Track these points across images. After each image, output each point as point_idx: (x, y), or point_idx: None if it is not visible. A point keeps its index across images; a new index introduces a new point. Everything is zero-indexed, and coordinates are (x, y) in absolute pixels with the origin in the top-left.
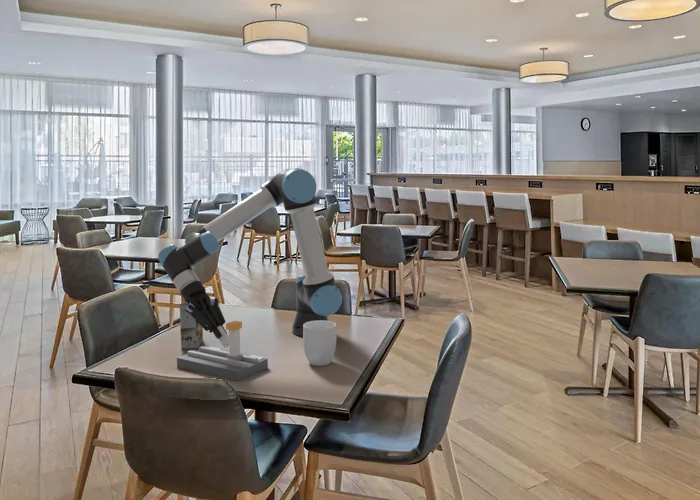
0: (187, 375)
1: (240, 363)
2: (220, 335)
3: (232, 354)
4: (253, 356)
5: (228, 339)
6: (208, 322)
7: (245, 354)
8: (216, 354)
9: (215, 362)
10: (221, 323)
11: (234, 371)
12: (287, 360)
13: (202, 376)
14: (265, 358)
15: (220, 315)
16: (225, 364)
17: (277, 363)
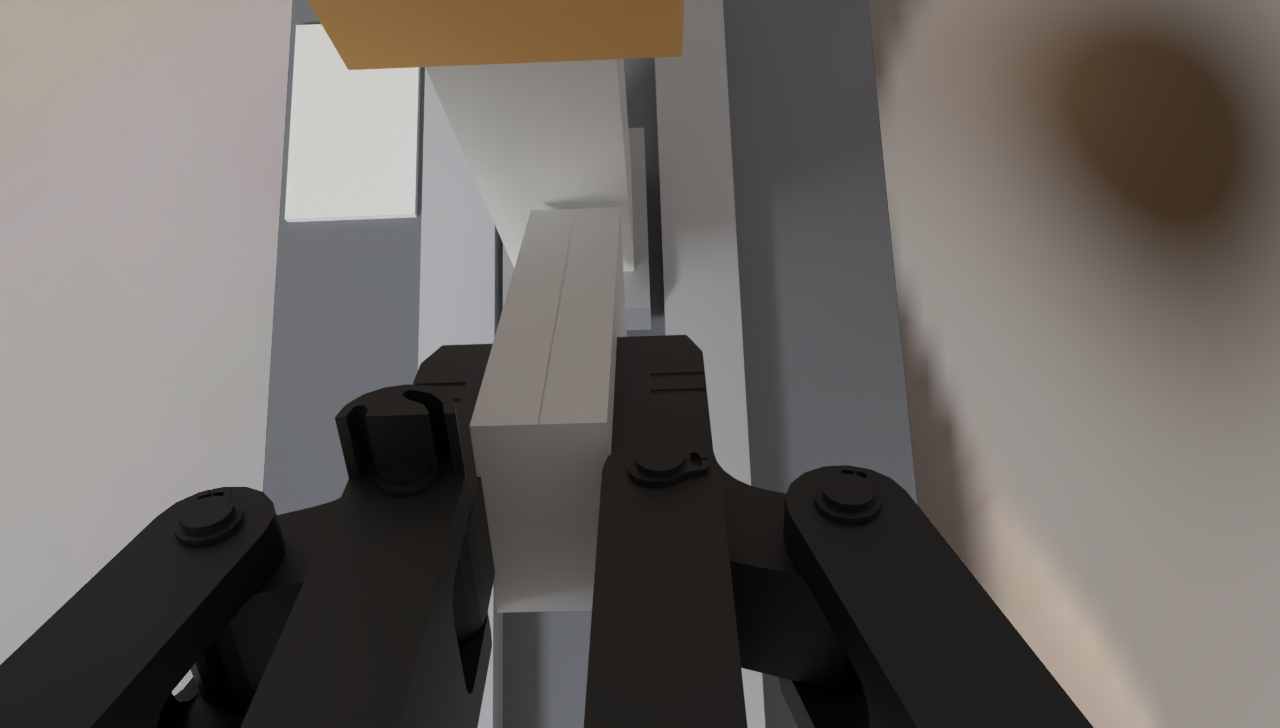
0: (1075, 669)
1: (723, 13)
2: (659, 341)
3: (631, 203)
4: (323, 156)
5: (567, 238)
6: (872, 575)
7: (284, 327)
8: (503, 699)
9: (779, 436)
10: (453, 403)
11: (867, 10)
12: (14, 23)
13: (978, 473)
14: (297, 4)
15: (85, 706)
16: (761, 259)
17: (156, 50)
